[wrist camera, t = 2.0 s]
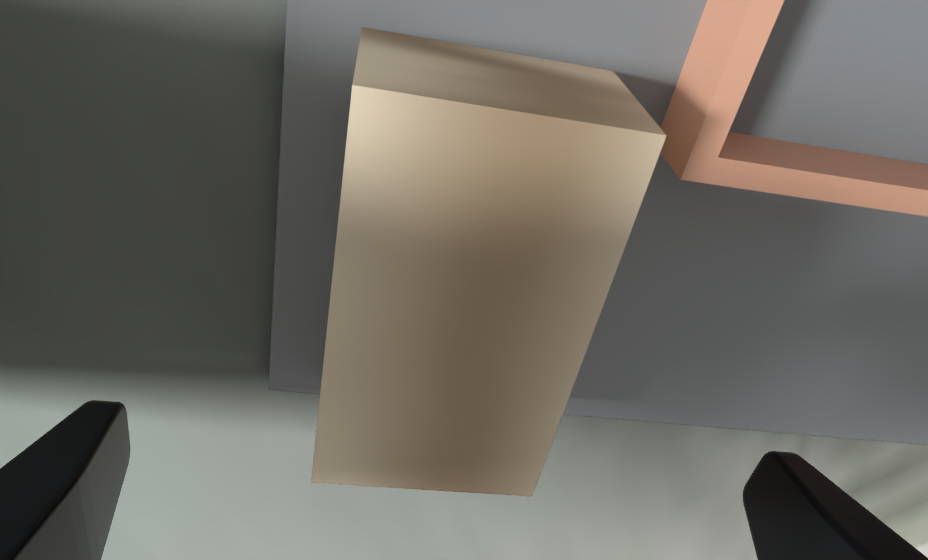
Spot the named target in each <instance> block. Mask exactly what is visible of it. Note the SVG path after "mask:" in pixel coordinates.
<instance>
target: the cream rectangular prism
mask: <svg viewBox="0 0 928 560" xmlns="http://www.w3.org/2000/svg"><path fill="white" fill-rule="evenodd" d="M666 136H667V135H666V134H665V133H664V132H663V130H662V129H661V128H660V127H659V126H658V124H657V123H656V122H655V121H654V120H653V118H652V117H651V116H650V115H649V114H648V112H647V111H646V110H645V109H644V108H643V106H642V105H641V104H640V103H639V102H638V100H637V99H636V98H635V97H634V96H633V94H632V93H631V92H630V91H629V90H628V88H627V87H626V86H625V85H624V83H623V82H622V81H621V80H620V79H619V77H618V76H617V75H616V74H615V73H614V71H611V70H605V69H599V68H594V67H588V66H582V65H576V64H571V63H565V62H559V61H554V60H548V59H542V58H536V57H531V56H525V55H519V54H514V53H508V52H502V51H497V50H491V49H485V48H479V47H474V46H468V45H462V44H457V43H451V42H445V41H440V40H434V39H428V38H422V37H417V36H411V35H405V34H400V33H394V32H388V31H382V30H377V29H371V28H365V27H362V31H361V36H360V42H359V48H358V54H357V60H356V66H355V72H354V77H353V83H352V92H351V102H350V111H349V121H348V131H347V140H346V150H345V160H344V169H343V179H342V188H341V198H340V208H339V217H338V227H337V237H336V246H335V256H334V266H333V275H332V285H331V295H330V304H329V314H328V323H327V333H326V343H325V352H324V362H323V372H322V381H321V391H320V401H319V410H318V420H317V430H316V439H315V449H314V459H313V468H312V478H311V483H324V484H340V485H357V486H373V487H389V488H405V489H421V490H437V491H453V492H470V493H486V494H502V495H518V496H532V495H533V492H534V490H535V487H536V484H537V482H538V479H539V476H540V474H541V471H542V468H543V466H544V463H545V460H546V458H547V455H548V452H549V450H550V447H551V444H552V442H553V439H554V436H555V433H556V431H557V428H558V425H559V423H560V420H561V417H562V415H563V412H564V409H565V407H566V404H567V401H568V399H569V396H570V393H571V391H572V388H573V385H574V383H575V380H576V377H577V375H578V372H579V369H580V366H581V364H582V361H583V358H584V356H585V353H586V350H587V348H588V345H589V342H590V340H591V337H592V334H593V332H594V329H595V326H596V324H597V321H598V318H599V316H600V313H601V310H602V307H603V305H604V302H605V299H606V297H607V294H608V291H609V289H610V286H611V283H612V281H613V278H614V275H615V273H616V270H617V267H618V265H619V262H620V259H621V257H622V254H623V251H624V248H625V246H626V243H627V240H628V238H629V235H630V232H631V230H632V227H633V224H634V222H635V219H636V216H637V214H638V211H639V208H640V206H641V203H642V200H643V198H644V195H645V192H646V189H647V187H648V184H649V181H650V179H651V176H652V173H653V171H654V168H655V165H656V163H657V160H658V157H659V155H660V152H661V149H662V147H663V144H664V141H665V139H666Z"/></svg>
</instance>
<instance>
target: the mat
mask: <svg viewBox="0 0 928 560" xmlns="http://www.w3.org/2000/svg"><path fill="white" fill-rule="evenodd" d="M706 2H707V0H287V12H286V33H285V54H284V75H283V96H282V117H281V138H280V159H279V180H278V201H277V221H276V242H275V263H274V284H273V305H272V326H271V347H270V368H269V389H268V390H277V391H289V392H300V393H312V394H320V391H321V381H322V372H323V362H324V352H325V343H326V333H327V323H328V314H329V304H330V295H331V285H332V275H333V266H334V256H335V246H336V237H337V227H338V217H339V208H340V198H341V188H342V179H343V169H344V160H345V150H346V140H347V131H348V121H349V111H350V102H351V92H352V83H353V77H354V72H355V66H356V60H357V54H358V48H359V42H360V36H361V31H362V27H365V28H371V29H377V30H382V31H388V32H394V33H400V34H405V35H411V36H417V37H422V38H428V39H434V40H440V41H445V42H451V43H457V44H462V45H468V46H474V47H479V48H485V49H491V50H497V51H502V52H508V53H514V54H519V55H525V56H531V57H536V58H542V59H548V60H554V61H559V62H565V63H571V64H576V65H582V66H588V67H594V68H599V69H605V70H611V71H614V73H615V74H616V75H617V76H618V77H619V79H620V80H621V81H622V82H623V83H624V85H625V86H626V87H627V88H628V90H629V91H630V92H631V93H632V94H633V96H634V97H635V98H636V99H637V100H638V102H639V103H640V104H641V105H642V106H643V108H644V109H645V110H646V111H647V112H648V114H649V115H650V116H651V117H652V118H653V120H654V121H655V122H656V123H657V124H658V126H659V127H660V128H661V125H662V123H663V120H664V117H665V115H666V112H667V109H668V106H669V104H670V101H671V98H672V95H673V93H674V90H675V87H676V84H677V82H678V79H679V76H680V74H681V71H682V68H683V65H684V63H685V60H686V57H687V54H688V52H689V49H690V46H691V43H692V41H693V38H694V35H695V32H696V30H697V27H698V24H699V22H700V19H701V16H702V13H703V11H704V8H705V5H706ZM729 132H734V133H740V134H746V135H752V136H758V137H764V138H770V139H776V140H782V141H789V142H795V143H801V144H807V145H813V146H819V147H825V148H831V149H837V150H843V151H849V152H855V153H862V154H868V155H874V156H880V157H886V158H892V159H898V160H904V161H910V162H916V163H922V164H928V0H784V3H783V5H782V7H781V10H780V12H779V14H778V17H777V19H776V21H775V24H774V26H773V28H772V31H771V33H770V36H769V38H768V40H767V43H766V45H765V47H764V50H763V52H762V54H761V57H760V59H759V62H758V64H757V66H756V69H755V71H754V73H753V76H752V78H751V80H750V83H749V85H748V87H747V90H746V92H745V95H744V97H743V99H742V102H741V104H740V106H739V109H738V111H737V113H736V116H735V118H734V120H733V123H732V125H731V128H730V130H729ZM563 415H575V416H587V417H599V418H611V419H623V420H635V421H647V422H659V423H671V424H683V425H695V426H707V427H719V428H730V429H742V430H754V431H766V432H778V433H790V434H802V435H814V436H826V437H838V438H850V439H862V440H874V441H886V442H898V443H910V444H922V445H928V216H921V215H914V214H907V213H901V212H894V211H887V210H881V209H874V208H867V207H861V206H854V205H847V204H841V203H834V202H827V201H820V200H814V199H807V198H800V197H794V196H787V195H780V194H774V193H767V192H760V191H753V190H747V189H740V188H733V187H727V186H720V185H713V184H707V183H700V182H693V181H687V180H680V178H679V177H678V176H677V174H676V173H675V172H674V170H673V169H672V168H671V167H670V165H669V164H668V163H667V161H666V160H665V159H664V157H663V156H662V155H661V154H660V155H659V157H658V160H657V163H656V165H655V168H654V171H653V173H652V176H651V179H650V181H649V184H648V187H647V189H646V192H645V195H644V198H643V200H642V203H641V206H640V208H639V211H638V214H637V216H636V219H635V222H634V224H633V227H632V230H631V232H630V235H629V238H628V240H627V243H626V246H625V248H624V251H623V254H622V257H621V259H620V262H619V265H618V267H617V270H616V273H615V275H614V278H613V281H612V283H611V286H610V289H609V291H608V294H607V297H606V299H605V302H604V305H603V307H602V310H601V313H600V316H599V318H598V321H597V324H596V326H595V329H594V332H593V334H592V337H591V340H590V342H589V345H588V348H587V350H586V353H585V356H584V358H583V361H582V364H581V366H580V369H579V372H578V375H577V377H576V380H575V383H574V385H573V388H572V391H571V393H570V396H569V399H568V401H567V404H566V407H565V409H564V412H563Z"/></svg>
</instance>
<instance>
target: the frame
mask: <svg viewBox="0 0 928 560" xmlns="http://www.w3.org/2000/svg"><path fill="white" fill-rule="evenodd" d="M783 3H784V0H707V2H706V5H705V8H704V11H703V13H702V16H701V19H700V22H699V24H698V27H697V30H696V32H695V35H694V38H693V41H692V43H691V46H690V49H689V52H688V54H687V57H686V60H685V63H684V65H683V68H682V71H681V74H680V76H679V79H678V82H677V84H676V87H675V90H674V93H673V95H672V98H671V101H670V104H669V106H668V109H667V112H666V115H665V117H664V120H663V123H662V125H661V129H662V130H663V132H664V133H665V134H666V135H667V136H666V139H665V141H664V144H663V147H662V149H661V152H660V154H661V155H662V156H663V157H664V159H665V160H666V161H667V163H668V164H669V165H670V167H671V168H672V169H673V170H674V172H675V173H676V174H677V176H678V177H679V178H680V180H687V181H693V182H700V183H707V184H713V185H720V186H727V187H733V188H740V189H747V190H753V191H760V192H767V193H774V194H780V195H787V196H794V197H800V198H807V199H814V200H820V201H827V202H834V203H841V204H847V205H854V206H861V207H867V208H874V209H881V210H887V211H894V212H901V213H907V214H914V215H921V216H928V164H922V163H916V162H910V161H904V160H898V159H892V158H886V157H880V156H874V155H868V154H862V153H855V152H849V151H843V150H837V149H831V148H825V147H819V146H813V145H807V144H801V143H795V142H789V141H782V140H776V139H770V138H764V137H758V136H752V135H746V134H740V133H734V132H729V130H730V128H731V125H732V123H733V120H734V118H735V116H736V113H737V111H738V109H739V106H740V104H741V102H742V99H743V97H744V95H745V92H746V90H747V87H748V85H749V83H750V80H751V78H752V76H753V73H754V71H755V69H756V66H757V64H758V62H759V59H760V57H761V54H762V52H763V50H764V47H765V45H766V43H767V40H768V38H769V36H770V33H771V31H772V28H773V26H774V24H775V21H776V19H777V17H778V14H779V12H780V10H781V7H782V5H783Z"/></svg>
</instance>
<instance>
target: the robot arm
mask: <svg viewBox="0 0 928 560" xmlns="http://www.w3.org/2000/svg"><path fill="white" fill-rule="evenodd" d="M129 457H130V440H129V430H128V421H127V412H126V408H125V406H124V405H123V404H122V403H120V402H110V401H97V400H92V401H89V402H86V403H85V404H83V405H82V406H81V407H79V408H78V409H77V410H75V411H74V412H73V413H71V414H70V415H69V416H68V417H66V418H65V419H64V420H62V421H61V422H60V423H59V424H57V425H56V426H55V427H53V428H52V429H51V430H50V431H48V432H47V433H46V434H44V435H43V436H42V437H41V438H39V439H38V440H37V441H35V442H34V443H33V444H32V445H30V446H29V447H28V448H26V449H25V450H24V451H23V452H21V453H20V454H19V455H17V456H16V457H15V458H14V459H12V460H11V461H10V462H8V463H7V464H6V465H5V466H3V467H2V468H1V469H0V560H101V557H102V554H103V550H104V547H105V543H106V540H107V537H108V533H109V530H110V526H111V523H112V519H113V516H114V512H115V509H116V505H117V502H118V498H119V495H120V491H121V488H122V484H123V481H124V477H125V474H126V470H127V467H128V463H129ZM743 503H744V507H745V511H746V515H747V519H748V523H749V527H750V531H751V535H752V539H753V543H754V547H755V551H756V555H757V558H758V560H928V558H927V557H926V556H924V555H923V554H922V553H921V552H919V551H918V550H917V549H916V548H914V547H913V546H912V545H911V544H909V543H908V542H907V541H906V540H904V539H903V538H902V537H901V536H899V535H898V534H897V533H896V532H894V531H893V530H892V529H891V528H889V527H888V526H887V525H886V524H884V523H883V522H882V521H880V520H879V519H878V518H877V517H875V516H874V515H873V514H872V513H870V512H869V511H868V510H867V509H865V508H864V507H863V506H862V505H860V504H859V503H858V502H857V501H855V500H854V499H853V498H852V497H850V496H849V495H848V494H847V493H845V492H844V491H843V490H842V489H840V488H839V487H838V486H837V485H835V484H834V483H833V482H832V481H830V480H829V479H828V478H827V477H825V476H824V475H823V474H822V473H820V472H819V471H818V470H816V469H815V468H814V467H813V466H811V465H810V464H809V463H808V462H806V461H805V460H804V459H803V458H801V457H800V456H799V455H797V454H794V453H789V452H776V451H771V452H768V453H766V454H765V455H764V456H763V457H762V459H761V460H760V462H759V464H758V465H757V467H756V468H755V470H754V472H753V473H752V475H751V476H750V478H749V480H748V481H747V483H746V485H745V487H744V490H743Z"/></svg>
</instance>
